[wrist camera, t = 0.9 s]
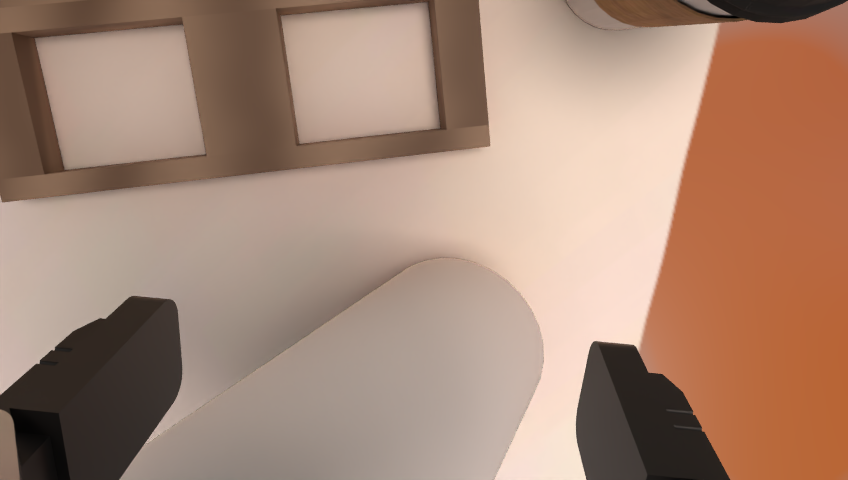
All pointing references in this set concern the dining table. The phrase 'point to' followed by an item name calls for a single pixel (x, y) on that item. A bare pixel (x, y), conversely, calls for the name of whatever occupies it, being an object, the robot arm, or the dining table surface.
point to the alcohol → (375, 391)
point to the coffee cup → (693, 11)
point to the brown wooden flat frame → (221, 91)
